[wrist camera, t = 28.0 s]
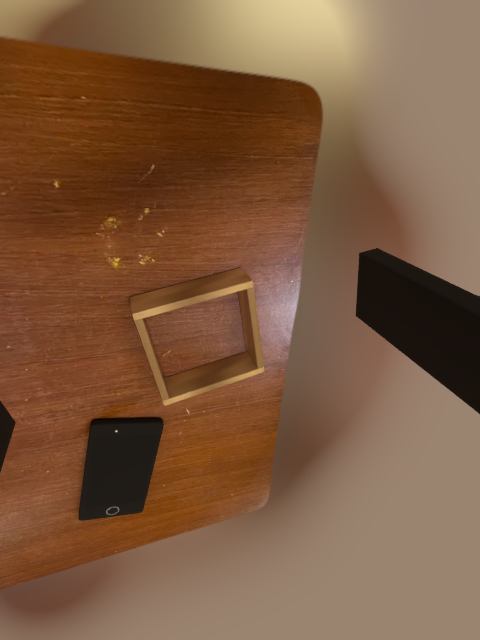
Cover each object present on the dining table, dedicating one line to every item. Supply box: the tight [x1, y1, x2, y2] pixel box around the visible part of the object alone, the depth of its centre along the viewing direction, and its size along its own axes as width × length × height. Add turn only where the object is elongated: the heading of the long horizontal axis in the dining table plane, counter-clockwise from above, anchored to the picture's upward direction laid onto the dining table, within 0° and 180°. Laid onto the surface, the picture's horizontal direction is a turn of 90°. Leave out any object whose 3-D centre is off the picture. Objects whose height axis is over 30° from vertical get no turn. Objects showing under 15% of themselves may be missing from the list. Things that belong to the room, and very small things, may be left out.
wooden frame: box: [130, 268, 264, 406], centre depth 39 cm, size 13×13×4 cm
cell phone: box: [79, 418, 164, 521], centre depth 47 cm, size 9×18×1 cm, turn 163°
